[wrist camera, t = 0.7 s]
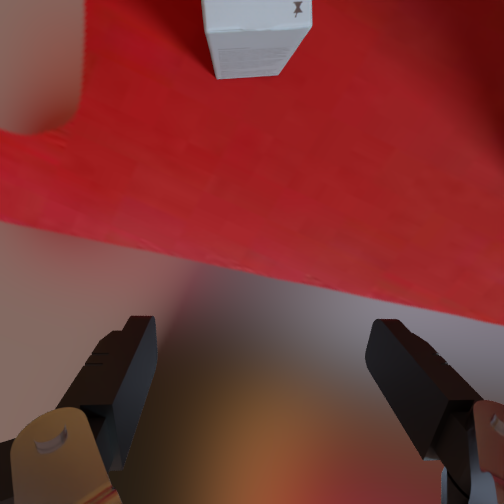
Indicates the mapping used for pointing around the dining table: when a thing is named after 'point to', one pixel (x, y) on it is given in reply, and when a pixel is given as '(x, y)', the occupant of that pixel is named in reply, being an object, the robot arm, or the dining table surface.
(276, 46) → the skincare box
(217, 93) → the dining table surface
